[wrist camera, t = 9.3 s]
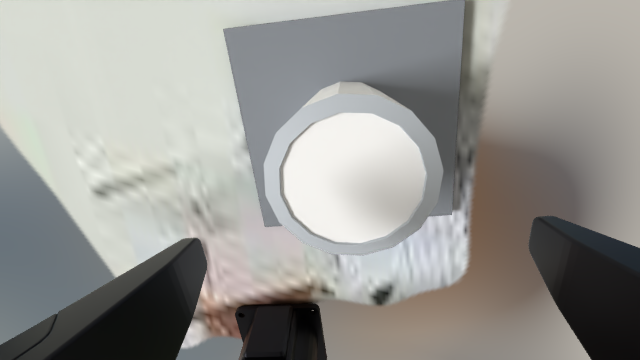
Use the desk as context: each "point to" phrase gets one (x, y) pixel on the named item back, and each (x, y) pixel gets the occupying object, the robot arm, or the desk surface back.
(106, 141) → the desk surface
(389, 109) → the white faceted cylinder
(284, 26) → the coaster mat
